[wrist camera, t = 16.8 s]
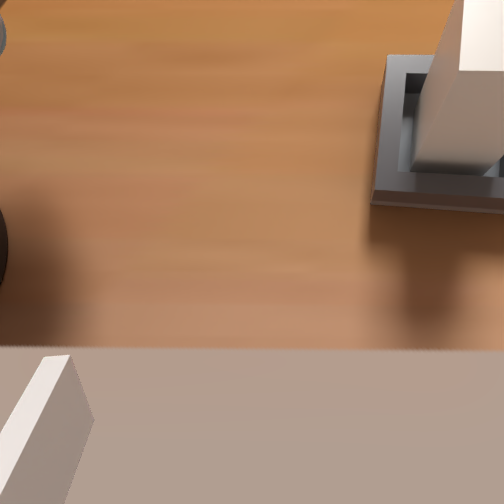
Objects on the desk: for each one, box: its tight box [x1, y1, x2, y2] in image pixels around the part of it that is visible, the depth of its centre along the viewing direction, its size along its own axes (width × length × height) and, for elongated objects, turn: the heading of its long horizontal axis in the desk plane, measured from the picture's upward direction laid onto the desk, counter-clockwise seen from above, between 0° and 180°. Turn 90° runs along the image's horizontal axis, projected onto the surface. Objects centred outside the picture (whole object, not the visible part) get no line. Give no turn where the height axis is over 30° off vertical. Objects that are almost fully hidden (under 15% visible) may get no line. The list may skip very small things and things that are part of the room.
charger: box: [409, 0, 504, 176], centre depth 22 cm, size 4×4×12 cm
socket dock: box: [370, 55, 504, 214], centre depth 28 cm, size 9×9×4 cm
